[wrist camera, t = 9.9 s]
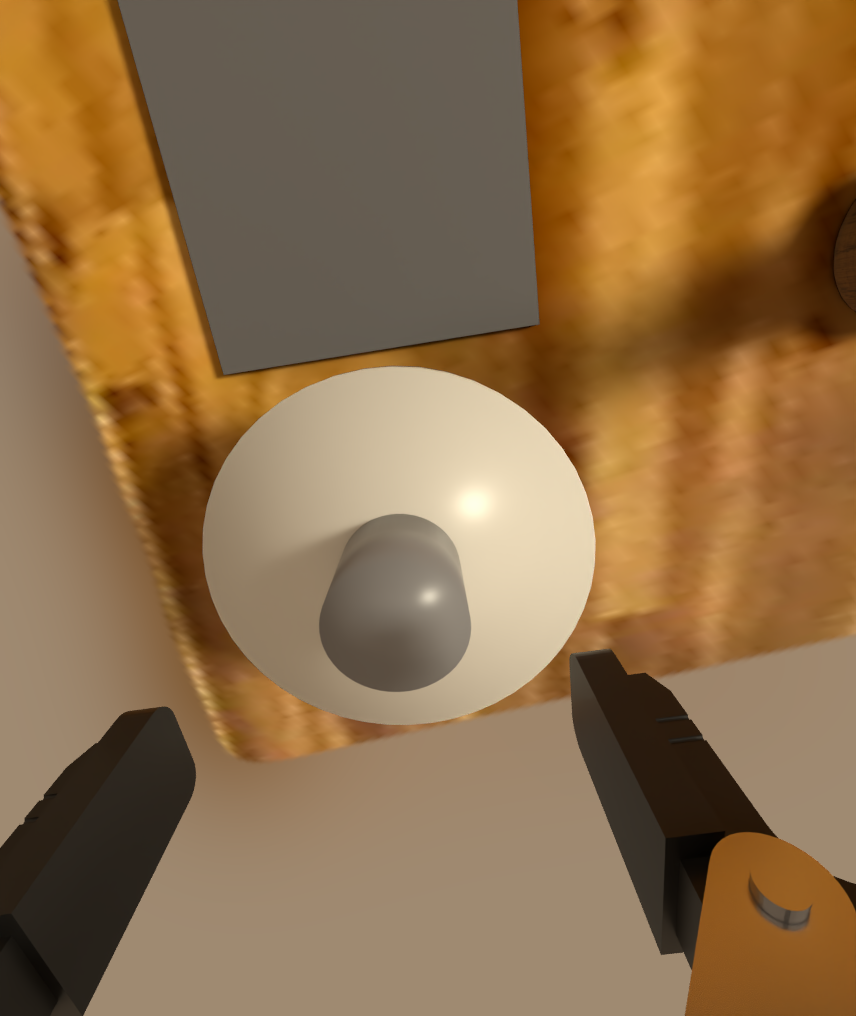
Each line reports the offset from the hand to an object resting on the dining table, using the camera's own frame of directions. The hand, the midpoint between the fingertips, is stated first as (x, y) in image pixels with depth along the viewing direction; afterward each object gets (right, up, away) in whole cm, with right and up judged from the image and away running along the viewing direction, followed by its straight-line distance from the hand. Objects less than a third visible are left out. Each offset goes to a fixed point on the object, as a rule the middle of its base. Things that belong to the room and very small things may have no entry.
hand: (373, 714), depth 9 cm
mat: (-2, +18, +9) cm, 20 cm away
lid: (0, +2, +7) cm, 8 cm away
